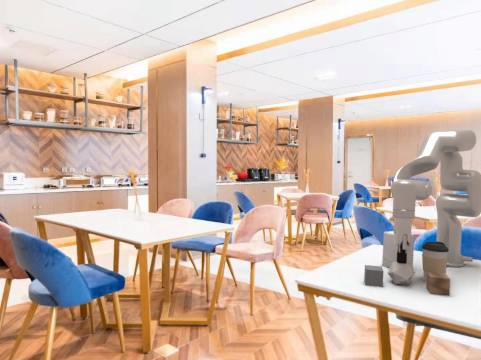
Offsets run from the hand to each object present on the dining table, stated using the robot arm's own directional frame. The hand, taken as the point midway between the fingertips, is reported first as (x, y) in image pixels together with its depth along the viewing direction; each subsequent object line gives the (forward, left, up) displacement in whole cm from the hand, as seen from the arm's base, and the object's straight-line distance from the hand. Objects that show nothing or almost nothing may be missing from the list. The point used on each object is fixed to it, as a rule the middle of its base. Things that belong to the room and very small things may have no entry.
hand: (401, 262), depth 134 cm
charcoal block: (+10, +4, -8) cm, 13 cm away
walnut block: (-11, +6, -8) cm, 15 cm away
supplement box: (-2, -22, -8) cm, 23 cm away
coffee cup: (-13, -6, -8) cm, 16 cm away
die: (0, 0, -8) cm, 8 cm away
